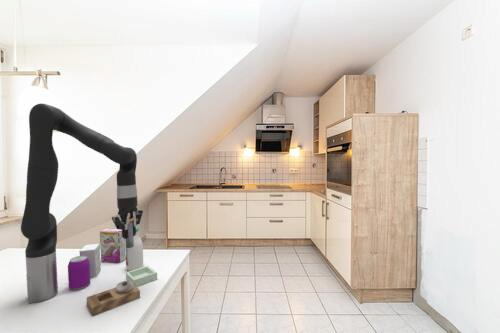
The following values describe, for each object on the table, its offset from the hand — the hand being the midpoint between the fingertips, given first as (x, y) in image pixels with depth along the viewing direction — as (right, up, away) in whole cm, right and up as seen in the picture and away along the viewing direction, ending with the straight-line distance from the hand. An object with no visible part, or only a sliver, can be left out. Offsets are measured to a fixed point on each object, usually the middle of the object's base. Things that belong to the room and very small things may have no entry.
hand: (129, 236), depth 105 cm
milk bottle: (-7, -21, +20) cm, 29 cm away
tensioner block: (-2, -22, -9) cm, 24 cm away
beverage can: (-22, -22, +3) cm, 32 cm away
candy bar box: (-22, -21, +28) cm, 41 cm away
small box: (-24, -22, +14) cm, 35 cm away
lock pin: (0, -4, 0) cm, 4 cm away
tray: (+2, -21, +8) cm, 23 cm away
